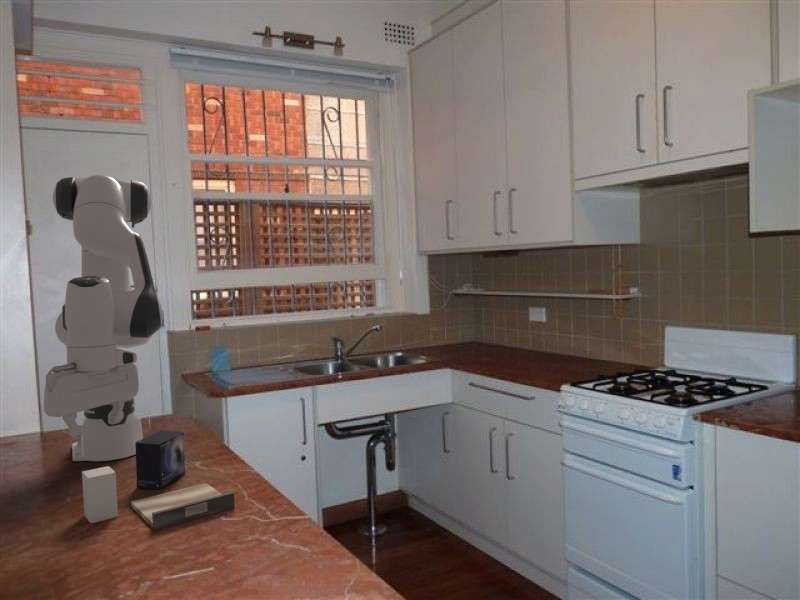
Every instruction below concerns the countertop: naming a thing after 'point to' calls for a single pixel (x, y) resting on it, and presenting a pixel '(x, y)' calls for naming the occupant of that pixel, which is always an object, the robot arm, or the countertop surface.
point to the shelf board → (182, 505)
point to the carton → (100, 494)
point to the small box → (160, 459)
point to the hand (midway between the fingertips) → (95, 429)
